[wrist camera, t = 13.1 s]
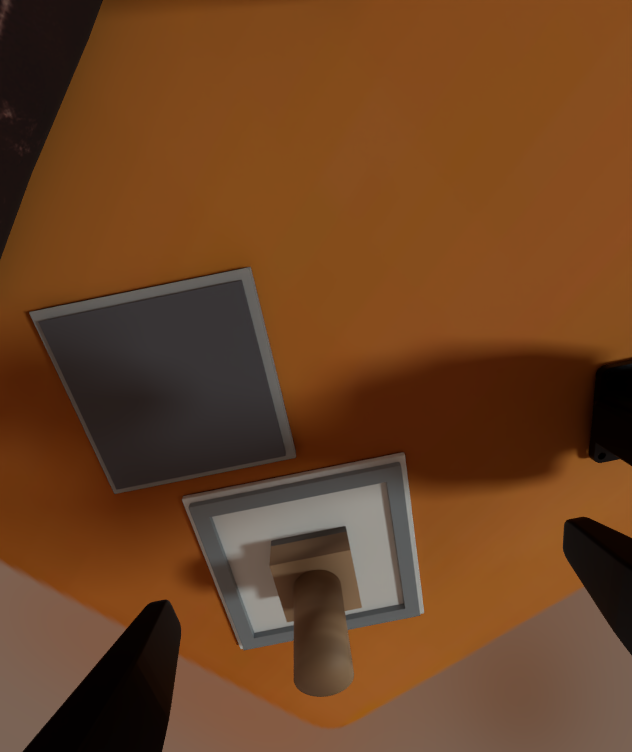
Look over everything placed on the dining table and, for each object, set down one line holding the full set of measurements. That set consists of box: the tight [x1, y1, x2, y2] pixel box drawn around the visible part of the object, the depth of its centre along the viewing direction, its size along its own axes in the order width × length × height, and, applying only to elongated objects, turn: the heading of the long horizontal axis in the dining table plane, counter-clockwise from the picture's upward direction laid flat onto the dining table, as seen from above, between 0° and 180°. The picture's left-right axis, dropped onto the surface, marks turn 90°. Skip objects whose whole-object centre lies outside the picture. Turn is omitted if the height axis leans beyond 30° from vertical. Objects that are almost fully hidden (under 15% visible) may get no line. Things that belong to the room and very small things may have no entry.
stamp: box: [269, 526, 362, 697], centre depth 21 cm, size 5×5×7 cm
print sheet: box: [182, 452, 424, 650], centre depth 24 cm, size 14×14×1 cm
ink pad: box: [29, 267, 296, 494], centre depth 19 cm, size 11×11×1 cm
